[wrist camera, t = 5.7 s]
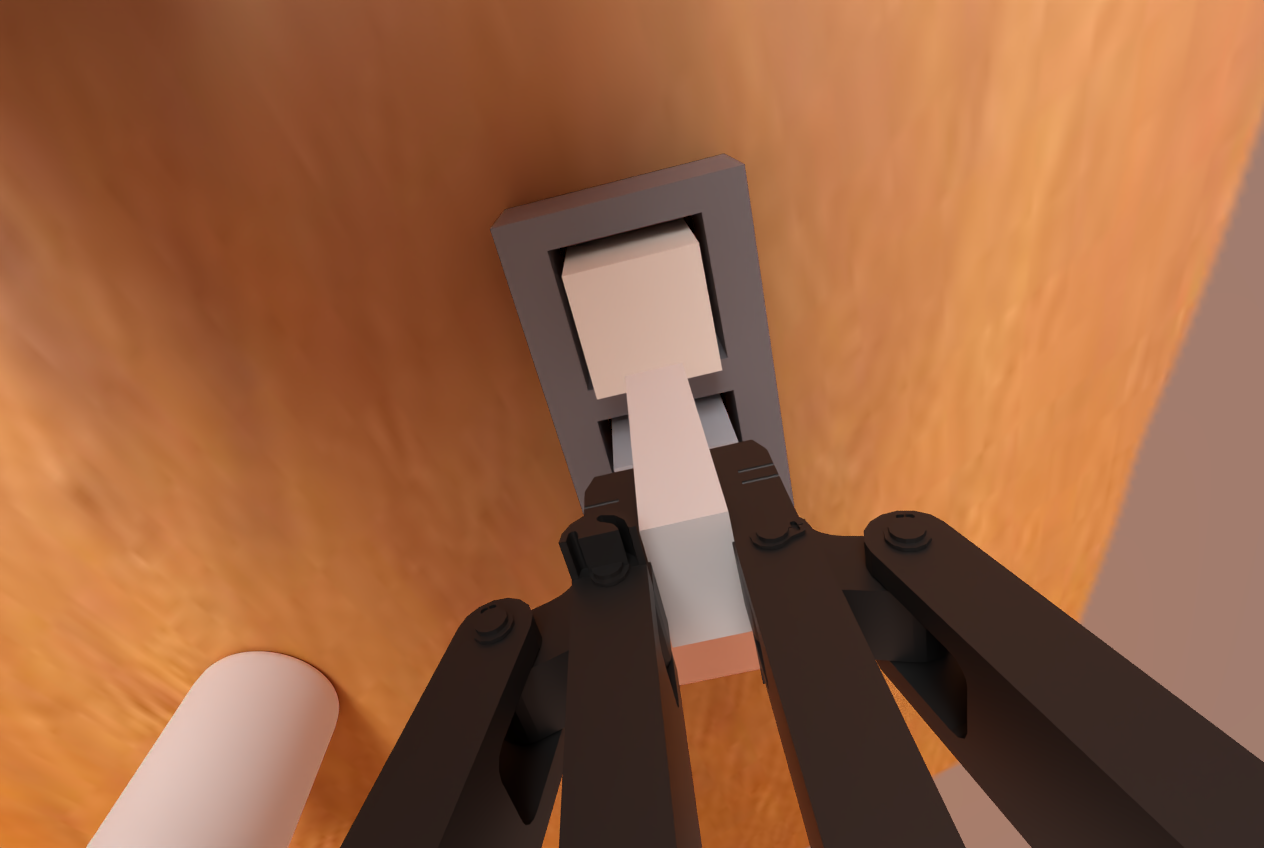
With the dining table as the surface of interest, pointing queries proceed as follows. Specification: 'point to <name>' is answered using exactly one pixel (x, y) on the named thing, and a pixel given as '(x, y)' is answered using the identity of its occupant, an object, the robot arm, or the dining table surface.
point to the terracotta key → (716, 658)
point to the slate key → (711, 419)
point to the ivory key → (641, 304)
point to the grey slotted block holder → (732, 287)
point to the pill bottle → (230, 760)
